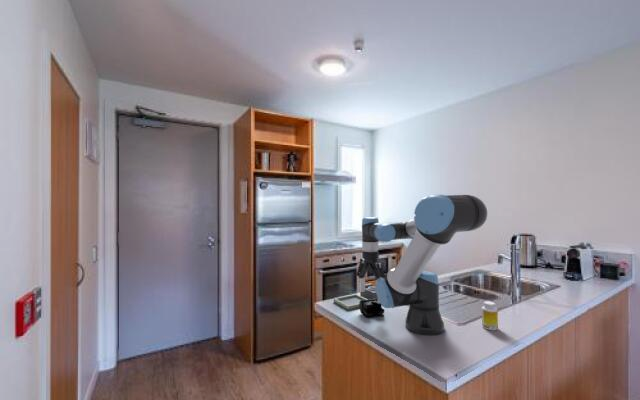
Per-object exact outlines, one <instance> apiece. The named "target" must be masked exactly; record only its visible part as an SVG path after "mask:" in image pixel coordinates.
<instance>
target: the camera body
mask: <svg viewBox="0 0 640 400" xmlns="http://www.w3.org/2000/svg"><path fill="white" fill-rule="evenodd" d="M359 295H360V296H362V297H364V298H366V299H368V300H369V299H377V298H378V297H377V294H376V288H375V286H374V283H371V282H369V283H365V291H364V292H360V291H359Z"/></svg>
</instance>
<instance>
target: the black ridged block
mask: <svg viewBox="0 0 640 400" xmlns="http://www.w3.org/2000/svg"><path fill="white" fill-rule="evenodd" d="M358 309H359V311H360V313H361V314H362V316H363V317H364V318H365V319H372V318H378V317H380V318H381V317H384V316H385V308H384V307H383V306H382V305H381V303H380V302H379V301H378V298H377V299H369V300H361V301H360V303H359V308H358Z"/></svg>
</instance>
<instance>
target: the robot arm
mask: <svg viewBox="0 0 640 400" xmlns="http://www.w3.org/2000/svg"><path fill="white" fill-rule="evenodd" d="M486 206H487V205H486V204H485V203H484V202H483V200H481V199H480V198H479V197H477V196H474V195H470V194H454V195H453V194H449V195H448V194H447V195H445V194H433V195H428V196H425V197H423V198H422V199H421V200H420V201H419V202H418V203H417V204H416V206H415V209H414V215H415V216H413V219H410V220H407V221H405V222H403V221H402V222H379V218H378V217H376V216H375V217H374V216H373V217H370V216H369V217H363V218H362V220H361V239H362V241H361V242H362V243H361V246H362V248H361V249H362V253H361V254H362V258H360V259H359V264H358V268H357V271H356V276H357V277H358V278H359V279H358V280H359V281H358V282H359V293H360V292H364V291H365V284H366V277H365V276H366V274H367V272H368V271H370V272H371V274H372V273H373V277H374V278H375V280H376V281H375V286H374V287H375V288H376V294H377V297H378V301H379V302H380V303H381V307H382V308H384V309H394V308H398V307H399V308H400V307H405V306H408V310H407V313H406V314H407V315H406V317H405V319H404V320H405V327H406V328H407V329H408V330H410V332H414V333H415V334H420V335H425V336H435V335H440V334H442V333H444V331H445V323H444V321H443V318H442V314H441V312H440V295H439V289H440V288H439V287H440V286H439V285H440V283H439V277H438V274H437V273H435V272H432V271H429V270H425V269H426V267H427V266H428V265H429V263H430V261H431V260H432V258H433V257H434V256H435V254H436V253H437V251H438V250H439V248H440V247H441V246H442V245H447V244H448V243H449V242H450V241H451V240H452V238H453V237H454V236H455V235H456V233H460V232H473V231H476V230H477V229H479V228H481V227H482V226H483V225H484V224H485V222H486V221H487V218H488V209H487V207H486ZM407 239H408V240H411V241H410V242H409V243H408V245H407V248H406V249H405V251H404V253H403V255H401V257H400V259H399V261H398V262H397V265H396V266H395V267H393V268H391V269H390V270H389V271H388V272H387V274H385V271H384V268H383V267H384V266H383V263H382V262H378V259H379V258H380V255H379V254H380V253H379V241H380V242H383V243H384V242H386V243H388V242H392V241H396V240H397V241H398V240H407Z"/></svg>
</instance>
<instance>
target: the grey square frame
mask: <svg viewBox="0 0 640 400" xmlns="http://www.w3.org/2000/svg"><path fill="white" fill-rule="evenodd" d="M361 300H368V299H366V298H364V297H362V296H360V294H357V293H355V294H350V295H349V294H348V295H345V296H340V297H339V296H338V297H335V298H333V303H334V304H335V305H337V306H339V307H341V308H342V309H345V310H346V311H348V312H349V311H352V310H357V309H360V308H359V303H360V301H361Z"/></svg>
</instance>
